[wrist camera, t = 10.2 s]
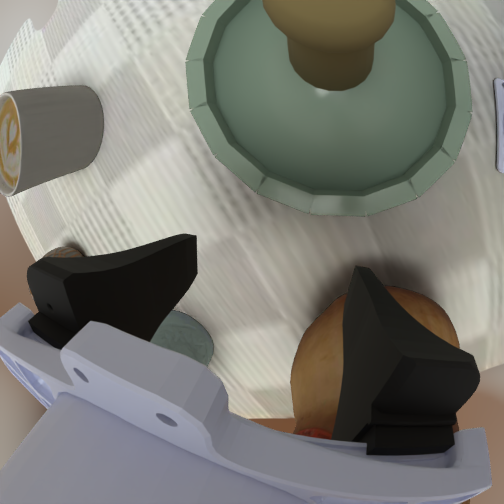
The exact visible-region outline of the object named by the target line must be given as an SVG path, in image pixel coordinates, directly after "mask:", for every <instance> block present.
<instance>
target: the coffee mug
mask: <svg viewBox="0 0 504 504" xmlns="http://www.w3.org/2000/svg"><path fill="white" fill-rule="evenodd" d="M103 129H104V119H103V111H102V106H101V103H100V101H99V98H98V96H97V95H96V93H95V92H94V91H93V90H92V89H91V88H89V87H87V86H82V85H80V86H56V87H43V88H32V89H24V90H16V91H10V92H5V93H3V94H1V95H0V193H1V194H2V195H4V196H6V197H10V196H13V195H15V194H17V193H20V192H22V191H24V190H27V189H29V188H32V187H34V186H37V185H39V184H42V183H44V182H47V181H50V180H52V179H55V178H58V177H61V176H64V175H66V174H69V173H72V172H75V171H78V170H81V169H84V168H86V167H87V166H88V165H89V164H90V163H91V162H92V161H93V160H94V158H95V157H96V155H97V153H98V151H99V148H100V145H101V142H102V136H103Z"/></svg>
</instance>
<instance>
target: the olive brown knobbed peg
mask: <svg viewBox="0 0 504 504" xmlns="http://www.w3.org/2000/svg"><path fill="white" fill-rule="evenodd" d="M262 2H263V8H264V9H265V11H266V13H267V14H268V16H269V17H270V19H271V21H272V22H273V24H274V25H275V27H277V28H278V29H279V30H280V31H281V32H282V33H284V34H285V35H286V36H287V45H288V54H289V61H290V63H291V65H292V67H293V69H294V71H295V72H296V73H297V74H298V75H299V76H300V77H301V78H302V79H303V80H304V81H305V82H307V83H309V84H311V85H312V86H314V87H316V88H320V89H323V90H327V91H344V90H348V89H351V88H355V87H356V86H358V85H359V84H360V83H362V82H363V81H365V79H366V78H367V76H368V75H369V74H370V72H371V70H372V65H373V60H374V46H375V43H376V42H377V41H379V40H380V39H382V38H383V37H384V35H385V34H386V32H387V31H388V29H389V28H390V26H391V25H392V23H393V22H394V17H395V10H396V3H395V0H262Z"/></svg>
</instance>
